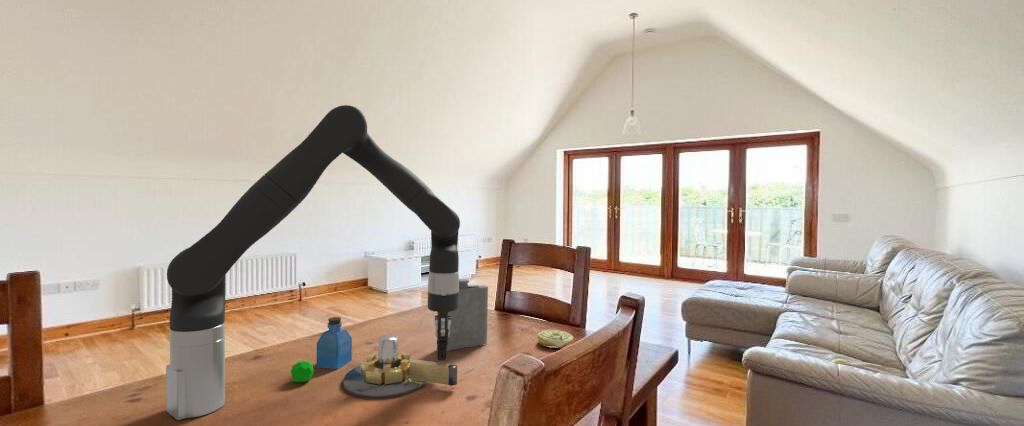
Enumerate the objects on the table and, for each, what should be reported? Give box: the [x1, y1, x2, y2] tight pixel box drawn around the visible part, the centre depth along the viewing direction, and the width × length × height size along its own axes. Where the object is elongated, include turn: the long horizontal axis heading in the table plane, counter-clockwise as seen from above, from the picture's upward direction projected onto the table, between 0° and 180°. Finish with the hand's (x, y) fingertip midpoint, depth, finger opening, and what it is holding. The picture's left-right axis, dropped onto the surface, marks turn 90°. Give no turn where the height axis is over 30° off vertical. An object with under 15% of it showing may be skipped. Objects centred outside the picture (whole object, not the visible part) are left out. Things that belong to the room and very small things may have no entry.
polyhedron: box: [290, 359, 315, 384], centre depth 106 cm, size 5×5×5 cm
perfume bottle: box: [316, 316, 353, 370], centre depth 117 cm, size 6×6×12 cm
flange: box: [343, 334, 429, 399], centre depth 107 cm, size 20×20×10 cm
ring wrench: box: [360, 352, 458, 387], centre depth 106 cm, size 24×12×4 cm, turn 73°
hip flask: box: [436, 278, 489, 352], centre depth 132 cm, size 16×4×20 cm, turn 121°
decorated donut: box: [537, 329, 574, 350], centre depth 136 cm, size 10×11×4 cm
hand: (441, 359), depth 109 cm, fingers closed
